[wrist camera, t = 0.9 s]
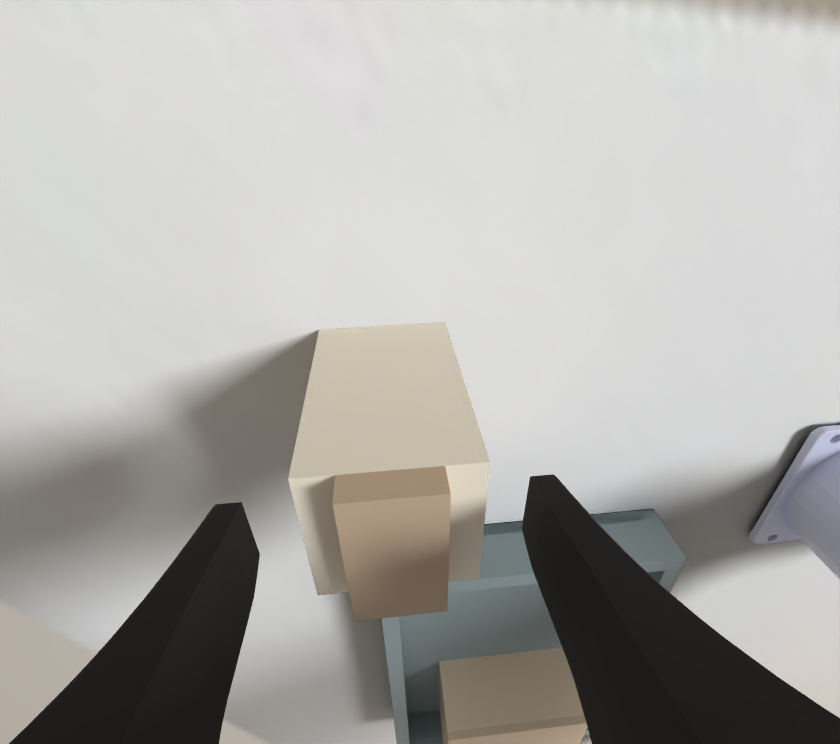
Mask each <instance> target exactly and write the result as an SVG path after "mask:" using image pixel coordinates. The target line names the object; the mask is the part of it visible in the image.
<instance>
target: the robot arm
mask: <svg viewBox="0 0 840 744" xmlns="http://www.w3.org/2000/svg"><path fill="white" fill-rule="evenodd" d="M522 532H523V536H524V540H525V544H526V548H527V552H528V555H529V559H530V563H531V566H532V570H533V572H534V575H535V578H536V580H537V583H538V586H539V588H540V591H541V593H542V596H543V599H544V601H545V604H546V607H547V609H548V612H549V614H550V617H551V620H552V622H553V625H554V627H555V630H556V632H557V635H558V638H559V640H560V643H561V645H562V648H563V651H564V653H565V656H566V658H567V661H568V664H569V667H570V670H571V673H572V676H573V679H574V682H575V685H576V689H577V692H578V696H579V699H580V703H581V706H582V709H583V713H584V716H585V720H586V723H587V727H588V730H589V734H590V738H591V741H592V744H840V718H839V717H837V716H835V715H834V714H832V713H831V712H829V711H828V710H826V709H824V708H823V707H821V706H820V705H818V704H817V703H815V702H814V701H812V700H811V699H809V698H808V697H807V696H805V695H804V694H802V693H801V692H799V691H798V690H796V689H795V688H793V687H792V686H790V685H789V684H787V683H786V682H784V681H783V680H781V679H780V678H779V677H777V676H776V675H774V674H773V673H772V672H770V671H769V670H768V669H766V668H765V667H763V666H762V665H761V664H759V663H758V662H757V661H755V660H754V659H752V658H751V657H750V656H748V655H747V654H746V653H744V652H743V651H742V650H740V649H739V648H737V647H736V646H735V645H733V644H732V643H731V642H729V641H728V640H727V639H725V638H724V637H723V636H721V635H720V634H719V633H718V632H716V631H715V630H714V629H713V628H711V627H710V626H709V625H708V624H706V623H705V622H704V621H703V620H701V619H700V618H699V617H698V616H696V615H695V614H694V613H693V612H692V611H690V610H689V609H688V608H687V607H686V606H684V605H683V604H682V603H681V602H680V601H678V600H677V599H676V598H675V597H674V596H673V595H672V594H670V593H669V592H668V591H667V590H666V589H665V588H664V587H663V586H661V585H660V584H659V583H658V582H657V581H656V580H655V579H654V578H653V577H652V576H651V575H649V574H648V573H647V572H646V571H645V570H644V569H643V568H642V567H641V566H640V565H639V564H638V563H637V562H636V561H635V560H634V559H633V558H632V557H631V556H630V555H629V554H628V553H626V552H625V551H624V550H623V549H622V547H621V546H620V545H619V544H618V543H617V542H616V541H615V540H614V539H613V538H612V537H611V536H610V535H609V534H608V533H607V532H606V531H605V530H604V529H603V528H602V527H601V526H600V525H599V524H598V523H597V522H596V521H595V520H594V518H593V517H592V516H591V515H590V514H589V513H588V512H587V511H586V510H585V509H584V508H583V506H582V505H581V504H580V503H579V502H578V501H577V500H576V499H575V497H574V496H573V495H572V494H571V493H570V492H569V491H568V490H567V488H566V487H565V486H564V485H563V484H562V483H561V482H560V480H559V479H558V478H557V477H556V476H555V475H543V476H532V477H530V481H529V487H528V494H527V500H526V506H525V512H524V518H523V524H522ZM750 538H751V539H752V541H753V542H754V543H756V544H765V543H775V542H785V541H795V540H802V541H803V542H804V543H805V544H806V545H807V546H808V547H809V548H810V549H811V550H812V551H813V552H814V553H815V554H816V555H817V556H818V557H819V558H820V559H821V560H822V561H823V563H824V564H825V565H826V566H827V567H828V568H829V569H830V570H831V571H832V572H833V573H834V574H835V575H836V576H837V577H838V578H839V579H840V425H833V426H822V427H819V428H816V429H815V430H813V431H812V432H811V433H810V434H809V436H808V438H807V439H806V441H805V443H804V444H803V446H802V448H801V449H800V451H799V453H798V454H797V456H796V458H795V459H794V461H793V463H792V464H791V466H790V468H789V469H788V471H787V473H786V474H785V476H784V478H783V479H782V481H781V483H780V484H779V486H778V488H777V489H776V491H775V493H774V494H773V496H772V498H771V499H770V501H769V503H768V505H767V506H766V508H765V510H764V511H763V513H762V515H761V516H760V518H759V520H758V521H757V523H756V525H755V526H754V528H753V530H752V531H751V533H750ZM259 556H260V554H259V551H258V548H257V545H256V542H255V539H254V537H253V534H252V531H251V528H250V525H249V522H248V519H247V517H246V514H245V511H244V508H243V505H242V502H239V503H228V504H217V505H215V506H214V507H213V508H212V509H211V511H210V512H209V514H208V515H207V516H206V518H205V519H204V520H203V522H202V523H201V525H200V526H199V527H198V529H197V530H196V532H195V533H194V534H193V536H192V537H191V538H190V540H189V541H188V542H187V544H186V545H185V547H184V548H183V549H182V551H181V552H180V553H179V555H178V556H177V557H176V559H175V560H174V561H173V563H172V564H171V565H170V566H169V568H168V569H167V570H166V572H165V573H164V574H163V575H162V577H161V578H160V579H159V581H158V582H157V583H156V584H155V586H154V587H153V588H152V590H151V591H150V592H149V593H148V595H147V596H146V597H145V598H144V600H143V601H142V602H141V603H140V604H139V606H138V607H137V608H136V609H135V610H134V612H133V613H132V614H131V615H130V616H129V618H128V619H127V620H126V621H125V622H124V623H123V625H122V626H121V627H120V628H119V629H118V631H117V632H116V633H115V634H114V635H113V636H112V638H111V639H110V640H109V641H108V642H107V643H106V644H105V646H104V647H103V648H102V649H101V650H100V651H99V652H98V653H97V654H96V656H95V657H94V658H93V659H92V660H91V661H90V662H89V663H88V664H87V665H86V667H85V668H84V669H83V670H82V671H81V672H80V673H79V674H78V675H77V676H76V677H75V678H74V679H73V680H72V681H71V682H70V684H69V685H68V686H67V687H66V688H65V689H64V690H63V691H62V692H61V693H60V694H59V695H58V696H57V697H56V698H55V699H54V700H53V701H52V702H51V703H50V704H49V705H48V706H47V707H46V708H45V709H44V710H43V711H42V712H41V713H40V714H39V715H38V716H37V717H36V718H35V719H34V720H33V721H32V722H31V723H30V724H29V725H28V726H27V727H26V728H25V729H24V730H23V731H22V732H21V733H20V734H19V735H18V736H17V737H16V738H14V739H13V740H12V741H11V742H10V743H9V744H219V739H220V733H221V727H222V722H223V717H224V713H225V708H226V704H227V699H228V695H229V692H230V688H231V684H232V680H233V676H234V672H235V669H236V665H237V661H238V657H239V653H240V649H241V646H242V642H243V638H244V634H245V630H246V626H247V622H248V618H249V614H250V610H251V606H252V602H253V598H254V592H255V586H256V579H257V572H258V564H259Z"/></svg>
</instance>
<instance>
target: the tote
mask: <svg viewBox="0 0 840 744" xmlns="http://www.w3.org/2000/svg"><path fill="white" fill-rule="evenodd" d="M591 516H592V517H593V518H594V520H595V521H596V522H597V523H598V524H599V525H600V526H601V527H602V528H603V529H604V530H605V531H606V532H607V533H608V534H609V535H610V536H611V537H612V538H613V539H614V540H615V541H616V542H617V543H618V544H619V545H620V546H621V547H622V549H623V550H624V551H625V552H626V553H628V554H629V555H630V556H631V557H632V558H633V559H634V560H635V561H636V562H637V563H638V564H639V565H640V566H641V567H642V568H643V569H644V570H645V571H646V572H647V573H648V574H649V575H651V576H652V577H653V578H654V579H655V580H656V581H657V582H658V583H659V584H660V585H661V586H663V587H664V588H665V589H666V590H667V591H668V592H669V593H670V591H671V589H672V587H673V585H674V583H675V581H676V579H677V577H678V575H679V573H680V571H681V569H682V567H683V565H684V563H685V561H686V559H687V558H686V556H685V555H684V553H683V552H682V550H681V549H680V547H679V546H678V544H677V543H676V541H675V540H674V538H673V537H672V535H671V534H670V532H669V531H668V529H667V528H666V526H665V525H664V523H663V522H662V520H661V519H660V518H659V516H658V515H657V513H656V512H655V510H654V509H650V510H639V511H628V512H617V513H606V514H596V515H591ZM522 524H523V521H520V522H509V523H498V524H487V525H484V532H483V543H482V554H481V565H480V576H479V579H472V580H462V581H452V582H448V611H446V612H437V613H428V614H418V615H409V616H400V617H390V618H381V619H382V627H383V635H384V643H385V651H386V659H387V667H388V675H389V684H390V692H391V700H392V708H393V716H394V724H395V732H396V740H397V744H443V737H442V728H441V719H440V710H439V661H448V660H457V659H466V658H474V657H483V656H492V655H501V654H510V653H519V652H527V651H536V650H545V649H554V648H562V645H561V643H560V640H559V638H558V635H557V632H556V630H555V627H554V625H553V622H552V620H551V617H550V614H549V612H548V609H547V607H546V604H545V601H544V599H543V596H542V593H541V591H540V588H539V586H538V583H537V580H536V578H535V575H534V572H533V570H532V566H531V563H530V559H529V555H528V552H527V548H526V544H525V540H524V536H523V532H522ZM585 735H590V734H589V730H588V728H587V730H586V732H585V734H584V736H585Z"/></svg>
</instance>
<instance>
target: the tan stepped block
mask: <svg viewBox="0 0 840 744" xmlns="http://www.w3.org/2000/svg"><path fill="white" fill-rule="evenodd" d="M439 710H440V719H441V728H442V737H443V744H580V743H581V741H582V738H583V736H584V734H585V732H586V730H587V728H588V727H587V723H586V720H585V716H584V713H583V709H582V706H581V703H580V699H579V696H578V692H577V689H576V685H575V682H574V679H573V676H572V673H571V670H570V667H569V664H568V661H567V658H566V656H565V653H564V651H563V648H554V649H545V650H536V651H527V652H519V653H510V654H501V655H492V656H483V657H474V658H466V659H457V660H448V661H439Z"/></svg>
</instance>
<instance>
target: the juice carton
mask: <svg viewBox="0 0 840 744" xmlns="http://www.w3.org/2000/svg"><path fill="white" fill-rule="evenodd" d="M489 466H490V461H489V458H488V455H487V452H486V449H485V445H484V442H483V439H482V436H481V433H480V430H479V427H478V424H477V421H476V417H475V414H474V411H473V408H472V405H471V402H470V399H469V396H468V393H467V389H466V386H465V383H464V380H463V377H462V374H461V371H460V368H459V365H458V361H457V358H456V355H455V352H454V349H453V346H452V343H451V340H450V336H449V333H448V330H447V327H446V324H445V322H438V323H421V324H404V325H388V326H371V327H355V328H338V329H321V330H319V333H318V338H317V343H316V347H315V352H314V357H313V362H312V367H311V371H310V376H309V381H308V386H307V390H306V395H305V400H304V405H303V410H302V414H301V419H300V424H299V429H298V434H297V438H296V443H295V448H294V453H293V458H292V462H291V467H290V472H289V477H288V481H289V485H290V489H291V493H292V497H293V500H294V504H295V508H296V512H297V516H298V520H299V524H300V528H301V532H302V536H303V540H304V543H305V547H306V551H307V555H308V559H309V563H310V567H311V571H312V575H313V579H314V583H315V586H316V590H317V594H318V595H325V594H335V593H344V592H349V596H350V601H351V606H352V612H353V617H354V621H362V620H371V619H381V618H390V617H400V616H409V615H418V614H428V613H437V612H446V611H448V582H452V581H462V580H472V579H479V576H480V565H481V554H482V543H483V532H484V521H485V510H486V499H487V488H488V477H489Z"/></svg>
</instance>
